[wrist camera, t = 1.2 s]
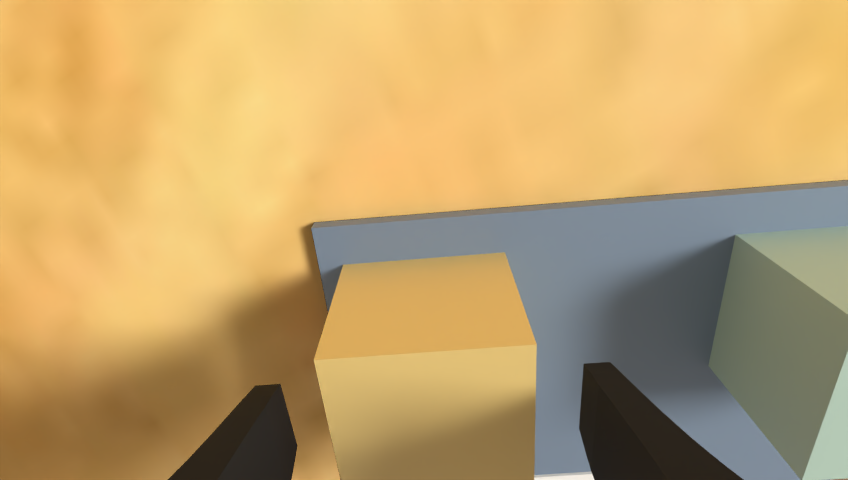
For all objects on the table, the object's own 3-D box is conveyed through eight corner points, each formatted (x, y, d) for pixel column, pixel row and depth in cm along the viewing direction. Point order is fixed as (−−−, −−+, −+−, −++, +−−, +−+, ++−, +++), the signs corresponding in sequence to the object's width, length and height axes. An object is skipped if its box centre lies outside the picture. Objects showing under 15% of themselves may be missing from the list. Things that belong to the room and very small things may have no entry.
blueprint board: (384, 584, 21) (384, 597, 21) (314, 222, 14) (310, 229, 13) (787, 562, 20) (796, 574, 20) (933, 173, 13) (951, 178, 13)
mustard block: (364, 389, 16) (347, 508, 12) (343, 264, 14) (313, 359, 10) (506, 379, 16) (534, 497, 12) (504, 252, 14) (536, 344, 10)
